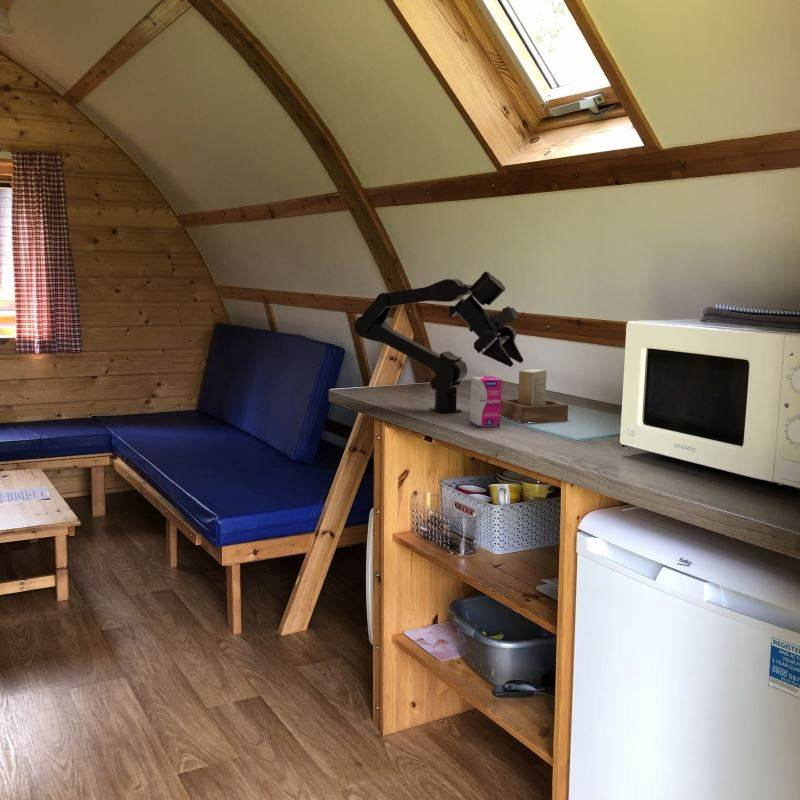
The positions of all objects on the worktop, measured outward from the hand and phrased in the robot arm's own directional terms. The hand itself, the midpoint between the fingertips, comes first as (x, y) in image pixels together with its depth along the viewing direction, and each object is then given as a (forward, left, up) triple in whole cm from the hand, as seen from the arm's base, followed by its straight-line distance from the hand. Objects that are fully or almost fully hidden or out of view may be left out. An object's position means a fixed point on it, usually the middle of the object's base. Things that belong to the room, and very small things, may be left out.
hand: (517, 363), depth 222 cm
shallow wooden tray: (+3, +3, -13) cm, 14 cm away
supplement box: (+7, -13, -14) cm, 20 cm away
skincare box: (+3, +3, -14) cm, 14 cm away
